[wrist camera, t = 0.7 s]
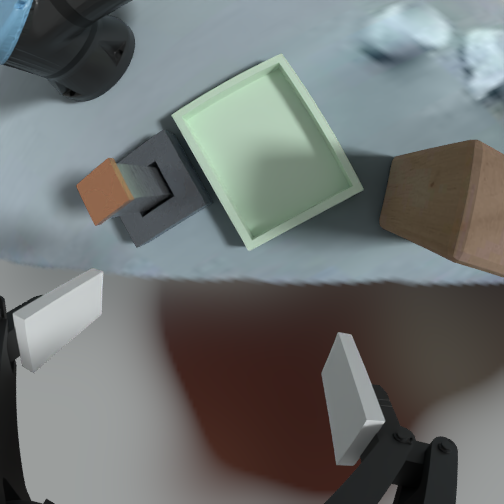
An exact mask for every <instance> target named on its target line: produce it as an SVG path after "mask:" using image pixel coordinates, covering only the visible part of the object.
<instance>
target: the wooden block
mask: <svg viewBox="0 0 504 504" xmlns="http://www.w3.org/2000/svg"><path fill="white" fill-rule="evenodd" d="M379 222H380V226H381V227H382V228H383V229H385V230H387V231H389V232H391V233H394V234H396V235H398V236H400V237H402V238H405V239H407V240H409V241H411V242H413V243H415V244H417V245H420V246H422V247H424V248H426V249H428V250H430V251H432V252H434V253H436V254H438V255H440V256H442V257H444V258H446V259H448V260H450V261H452V262H455V263H458V264H462V265H465V266H468V267H472V268H475V269H478V270H481V271H485V272H488V273H491V274H494V275H497V276H501V277H504V154H502V153H500V152H499V151H497V150H495V149H493V148H492V147H490V146H488V145H486V144H484V143H482V142H481V141H479V140H468V141H463V142H458V143H453V144H448V145H444V146H439V147H435V148H430V149H426V150H421V151H417V152H413V153H408V154H404V155H400V156H396V157H394V159H393V160H392V164H391V169H390V174H389V179H388V184H387V188H386V193H385V197H384V202H383V206H382V210H381V215H380V219H379Z"/></svg>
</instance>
